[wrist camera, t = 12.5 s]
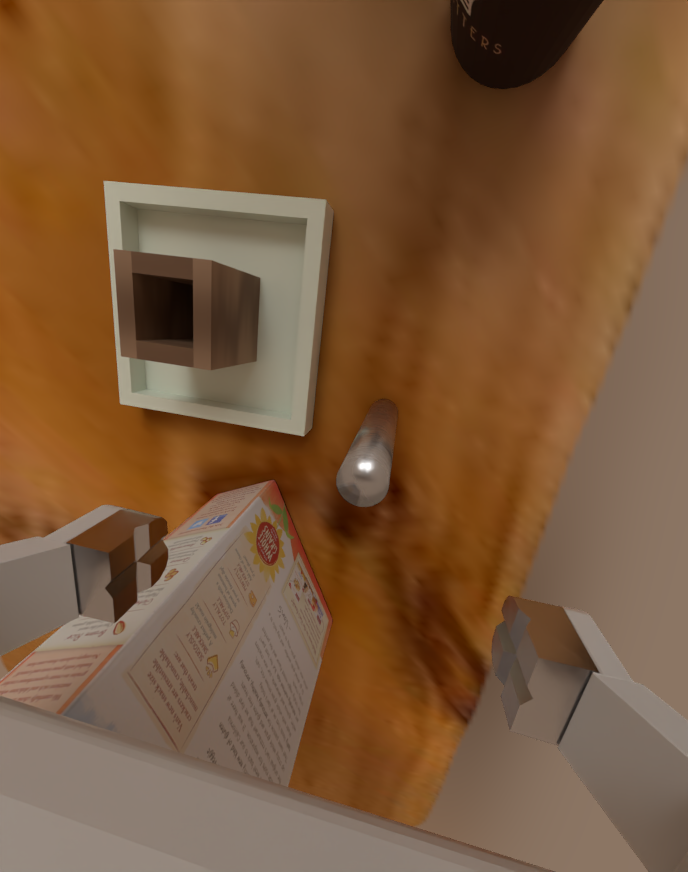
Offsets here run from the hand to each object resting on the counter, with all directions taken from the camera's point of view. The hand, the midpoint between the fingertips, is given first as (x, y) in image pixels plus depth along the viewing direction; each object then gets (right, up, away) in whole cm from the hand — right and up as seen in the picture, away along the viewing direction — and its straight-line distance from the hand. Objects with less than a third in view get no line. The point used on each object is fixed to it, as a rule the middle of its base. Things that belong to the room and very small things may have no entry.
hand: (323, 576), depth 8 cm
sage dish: (-8, +12, +16) cm, 22 cm away
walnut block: (-8, +12, +16) cm, 21 cm away
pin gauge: (+3, +5, +16) cm, 17 cm away
